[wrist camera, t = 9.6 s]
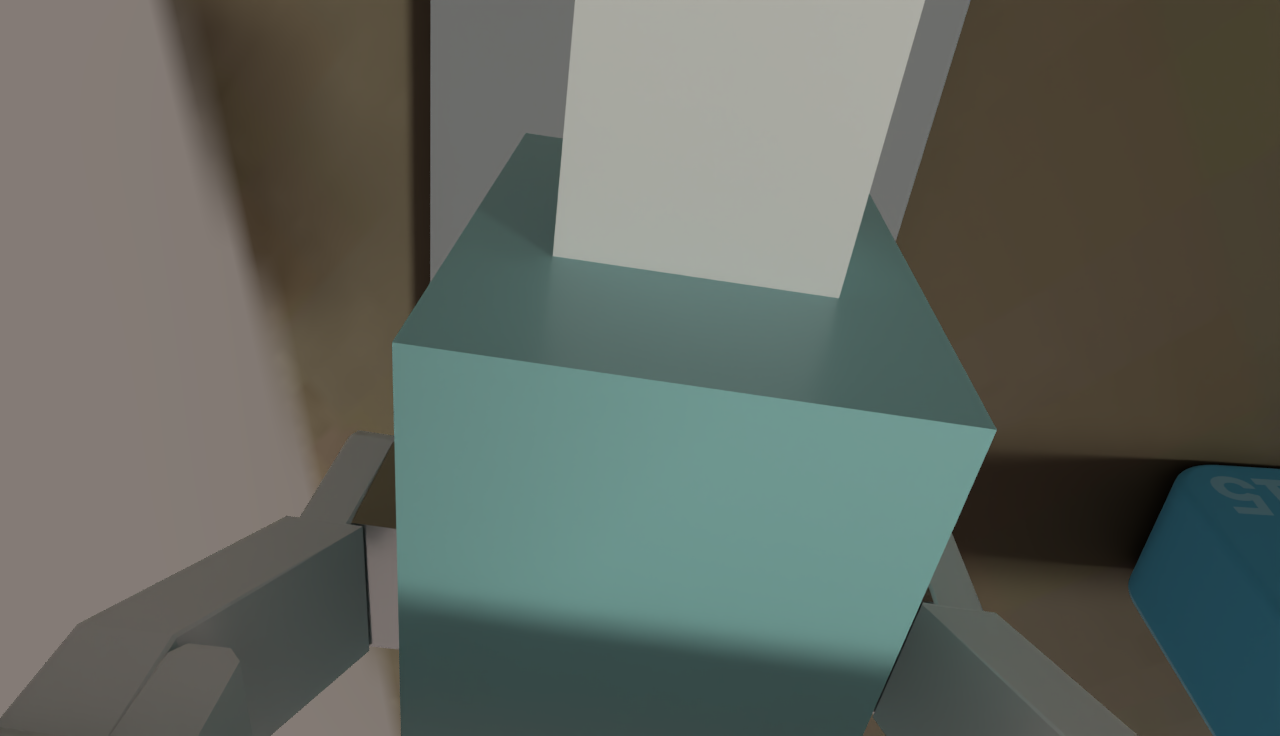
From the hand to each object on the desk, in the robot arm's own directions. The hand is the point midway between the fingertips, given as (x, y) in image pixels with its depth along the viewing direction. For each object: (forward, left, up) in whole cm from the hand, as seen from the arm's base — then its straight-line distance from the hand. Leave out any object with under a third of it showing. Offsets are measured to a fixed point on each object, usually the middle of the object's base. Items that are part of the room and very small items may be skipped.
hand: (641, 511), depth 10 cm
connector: (0, 0, -2) cm, 2 cm away
